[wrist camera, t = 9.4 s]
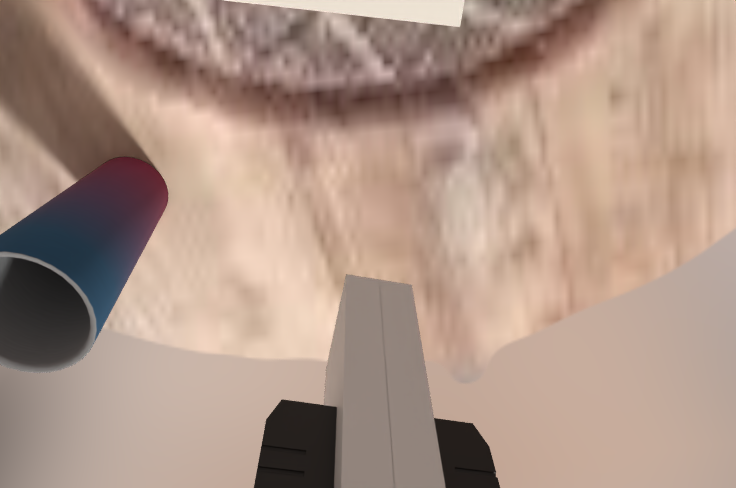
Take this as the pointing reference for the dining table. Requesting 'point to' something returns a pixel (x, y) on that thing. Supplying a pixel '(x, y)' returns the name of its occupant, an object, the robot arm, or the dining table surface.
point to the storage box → (381, 8)
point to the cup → (74, 263)
